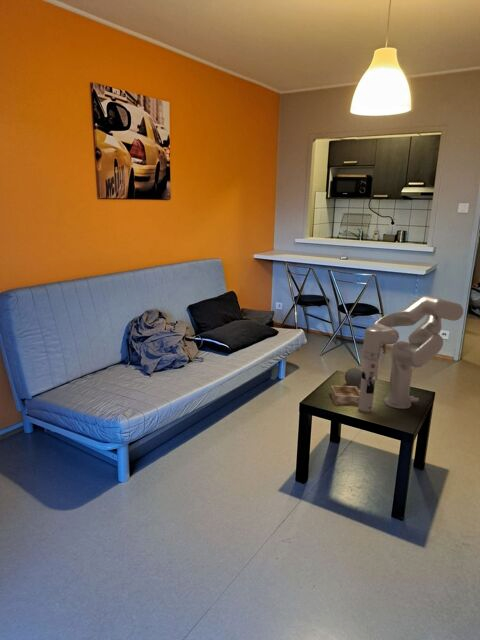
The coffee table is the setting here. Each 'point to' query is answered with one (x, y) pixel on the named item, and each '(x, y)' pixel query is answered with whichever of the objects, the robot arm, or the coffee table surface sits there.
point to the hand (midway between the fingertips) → (367, 389)
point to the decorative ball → (353, 376)
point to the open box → (345, 395)
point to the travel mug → (365, 397)
